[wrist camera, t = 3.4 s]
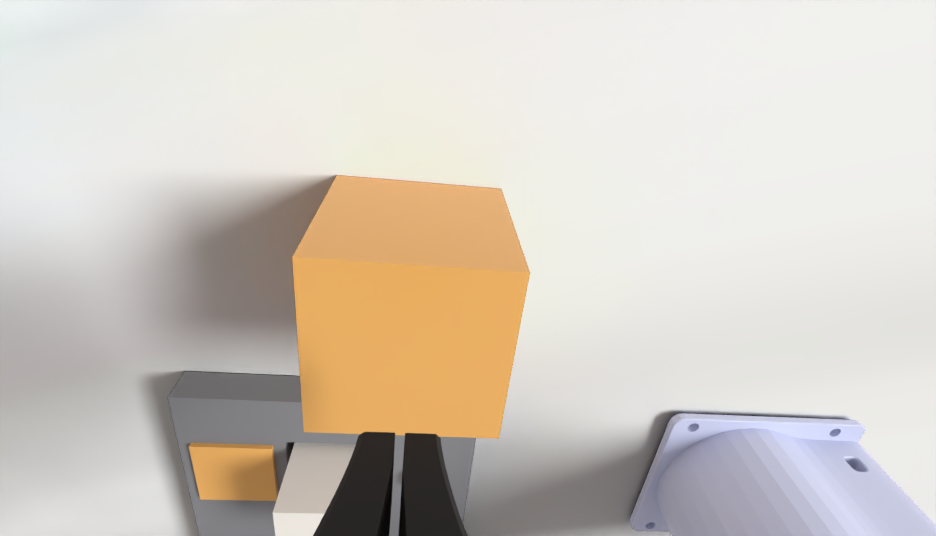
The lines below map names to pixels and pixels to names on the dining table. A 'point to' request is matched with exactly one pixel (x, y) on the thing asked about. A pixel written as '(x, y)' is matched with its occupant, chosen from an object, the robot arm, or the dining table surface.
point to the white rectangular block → (309, 486)
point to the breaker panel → (263, 449)
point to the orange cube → (408, 308)
